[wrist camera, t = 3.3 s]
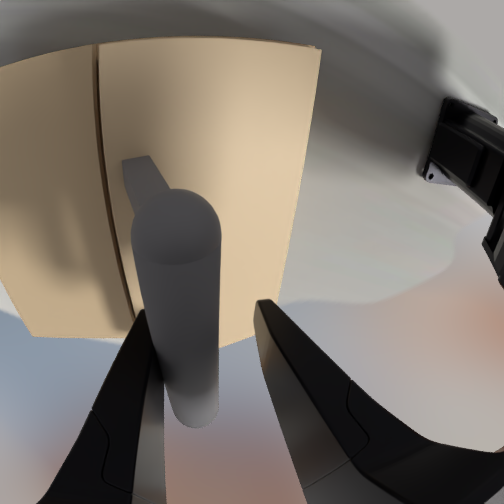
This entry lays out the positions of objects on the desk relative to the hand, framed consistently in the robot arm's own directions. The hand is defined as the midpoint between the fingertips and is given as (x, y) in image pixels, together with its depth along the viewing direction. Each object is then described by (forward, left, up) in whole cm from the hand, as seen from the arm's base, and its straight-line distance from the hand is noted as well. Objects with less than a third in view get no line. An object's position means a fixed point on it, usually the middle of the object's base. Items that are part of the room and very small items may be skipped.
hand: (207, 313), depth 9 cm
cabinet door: (0, 0, -4) cm, 4 cm away
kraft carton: (+3, 0, -10) cm, 11 cm away
